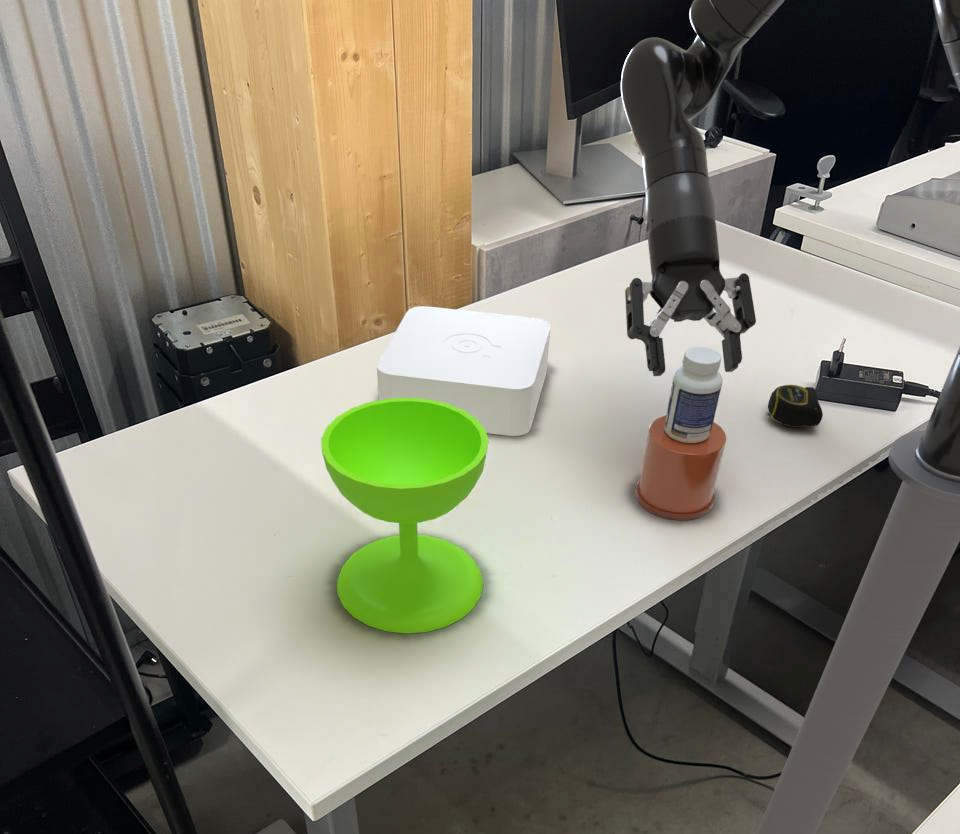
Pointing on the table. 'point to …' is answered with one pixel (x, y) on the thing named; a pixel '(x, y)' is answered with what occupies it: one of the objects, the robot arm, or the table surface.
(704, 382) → the pill bottle
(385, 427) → the wineglass
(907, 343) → the table surface
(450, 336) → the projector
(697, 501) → the tumbler
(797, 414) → the tape measure
